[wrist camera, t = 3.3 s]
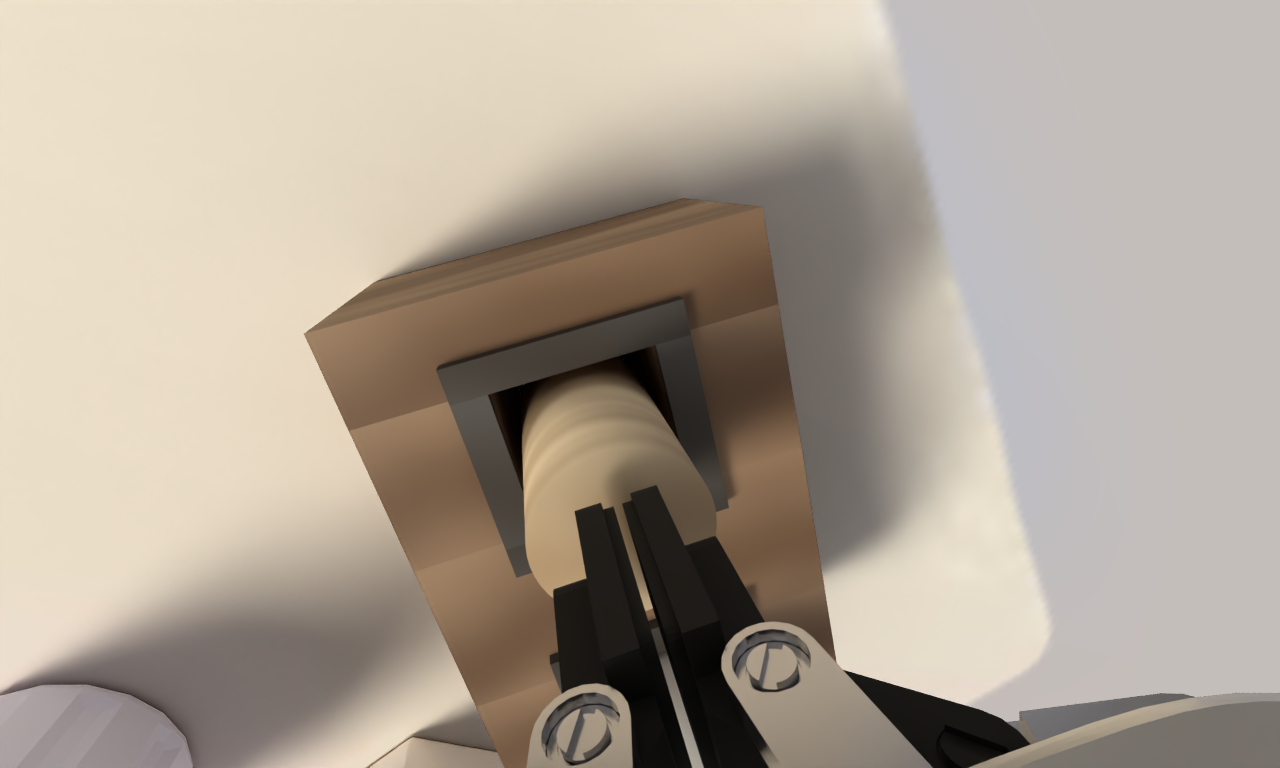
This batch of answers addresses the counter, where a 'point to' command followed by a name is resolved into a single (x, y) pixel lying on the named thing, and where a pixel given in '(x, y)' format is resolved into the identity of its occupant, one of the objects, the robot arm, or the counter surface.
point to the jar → (438, 756)
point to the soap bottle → (86, 730)
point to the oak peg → (599, 466)
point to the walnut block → (552, 344)
